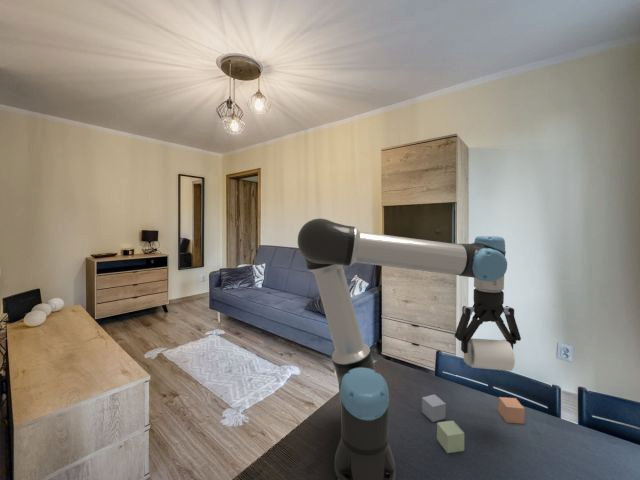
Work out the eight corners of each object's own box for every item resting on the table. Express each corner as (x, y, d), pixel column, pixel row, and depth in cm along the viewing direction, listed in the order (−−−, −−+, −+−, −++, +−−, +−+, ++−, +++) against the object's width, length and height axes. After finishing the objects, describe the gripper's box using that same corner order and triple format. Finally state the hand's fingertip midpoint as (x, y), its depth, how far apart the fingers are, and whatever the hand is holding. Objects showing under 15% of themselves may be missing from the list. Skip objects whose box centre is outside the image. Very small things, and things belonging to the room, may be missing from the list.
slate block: (432, 422, 86) (432, 407, 86) (421, 412, 91) (422, 397, 91) (445, 418, 88) (445, 403, 88) (434, 408, 93) (434, 394, 92)
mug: (514, 376, 76) (515, 347, 75) (474, 373, 78) (475, 345, 77) (495, 355, 88) (496, 331, 87) (461, 353, 89) (462, 329, 89)
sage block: (447, 453, 75) (447, 435, 74) (436, 439, 80) (437, 422, 79) (464, 450, 76) (464, 433, 75) (452, 437, 81) (452, 420, 80)
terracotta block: (506, 422, 86) (506, 407, 86) (498, 411, 91) (498, 397, 91) (524, 424, 85) (524, 408, 85) (515, 413, 90) (515, 398, 90)
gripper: (454, 292, 77) (452, 369, 79) (538, 292, 77) (535, 369, 78) (442, 286, 85) (441, 356, 86) (519, 286, 84) (517, 356, 86)
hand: (486, 363), depth 82 cm, fingers closed on mug, 11 cm apart
